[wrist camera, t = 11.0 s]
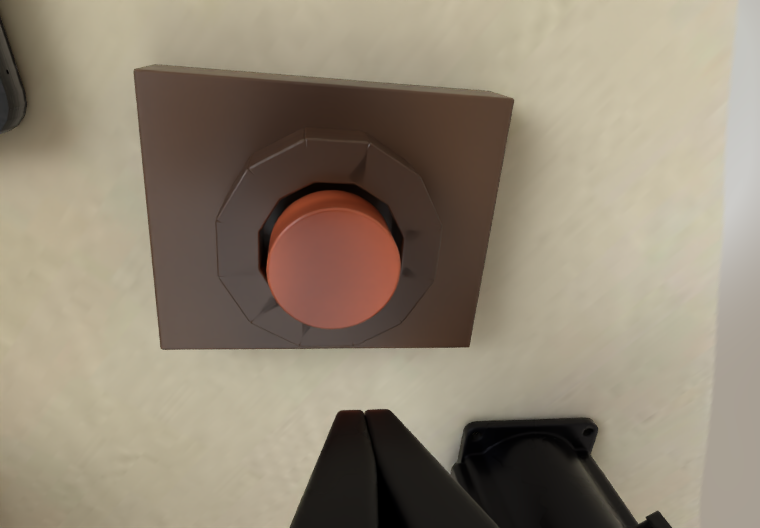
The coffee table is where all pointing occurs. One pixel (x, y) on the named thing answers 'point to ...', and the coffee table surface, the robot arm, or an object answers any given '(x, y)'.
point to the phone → (10, 87)
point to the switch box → (308, 175)
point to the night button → (332, 260)
